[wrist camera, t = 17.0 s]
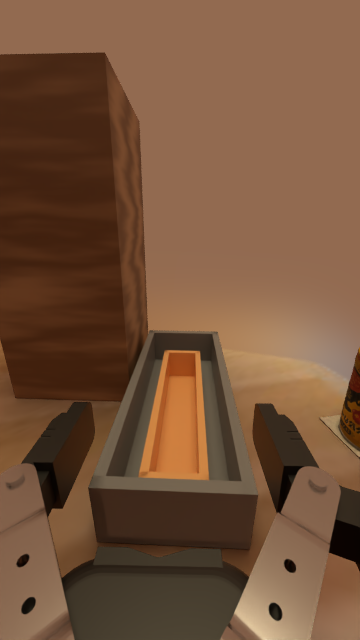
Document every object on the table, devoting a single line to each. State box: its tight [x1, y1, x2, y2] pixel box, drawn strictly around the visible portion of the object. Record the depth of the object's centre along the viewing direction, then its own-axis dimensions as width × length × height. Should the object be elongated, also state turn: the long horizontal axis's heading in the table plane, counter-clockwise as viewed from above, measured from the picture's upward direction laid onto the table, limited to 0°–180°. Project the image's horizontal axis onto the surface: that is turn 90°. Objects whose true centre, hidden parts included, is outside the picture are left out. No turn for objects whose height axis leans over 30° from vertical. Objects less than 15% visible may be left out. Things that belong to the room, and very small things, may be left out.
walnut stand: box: [0, 53, 148, 401], centre depth 32 cm, size 14×14×32 cm
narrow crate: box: [138, 350, 209, 480], centre depth 25 cm, size 18×4×4 cm, turn 178°
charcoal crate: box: [88, 330, 258, 549], centre depth 28 cm, size 24×10×5 cm, turn 178°
